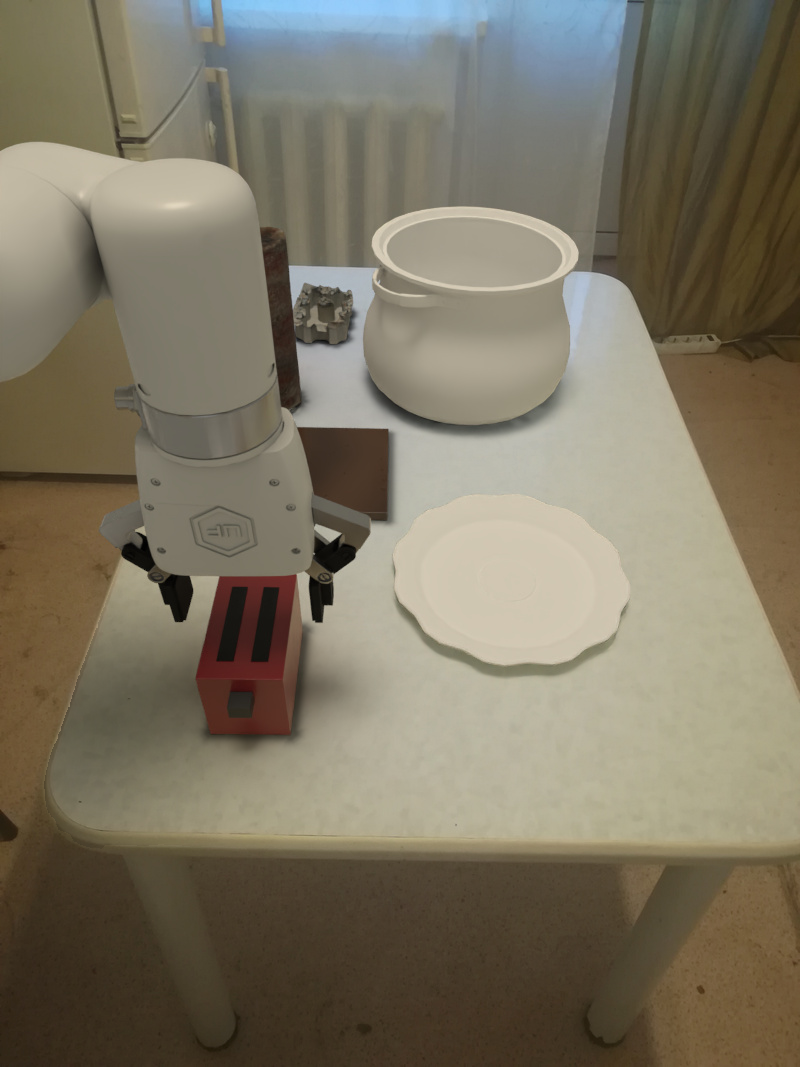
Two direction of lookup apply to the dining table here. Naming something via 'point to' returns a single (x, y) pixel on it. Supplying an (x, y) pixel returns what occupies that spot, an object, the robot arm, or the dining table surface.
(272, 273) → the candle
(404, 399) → the pot
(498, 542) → the plate
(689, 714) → the dining table surface
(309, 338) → the grey hollow ruin block
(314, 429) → the board
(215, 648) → the toaster
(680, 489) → the dining table surface
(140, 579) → the dining table surface
